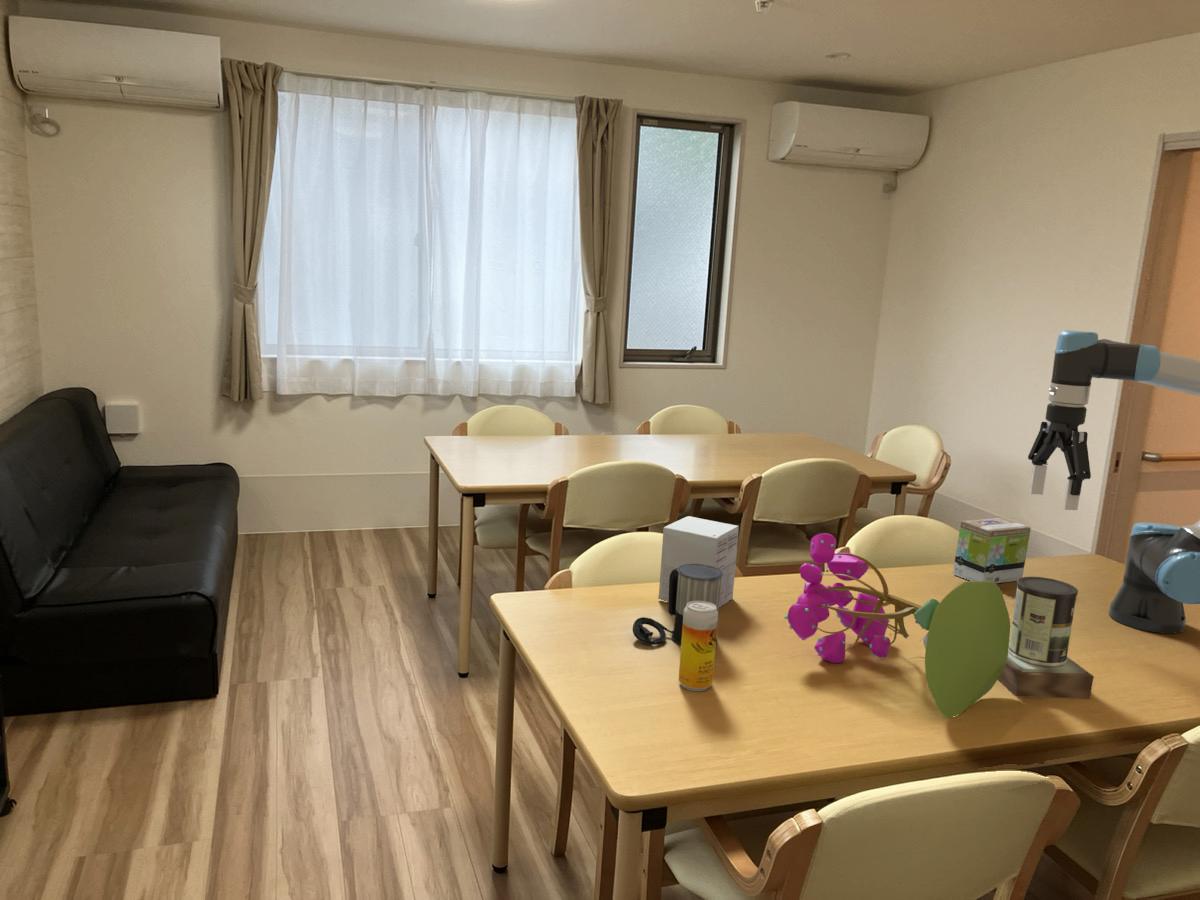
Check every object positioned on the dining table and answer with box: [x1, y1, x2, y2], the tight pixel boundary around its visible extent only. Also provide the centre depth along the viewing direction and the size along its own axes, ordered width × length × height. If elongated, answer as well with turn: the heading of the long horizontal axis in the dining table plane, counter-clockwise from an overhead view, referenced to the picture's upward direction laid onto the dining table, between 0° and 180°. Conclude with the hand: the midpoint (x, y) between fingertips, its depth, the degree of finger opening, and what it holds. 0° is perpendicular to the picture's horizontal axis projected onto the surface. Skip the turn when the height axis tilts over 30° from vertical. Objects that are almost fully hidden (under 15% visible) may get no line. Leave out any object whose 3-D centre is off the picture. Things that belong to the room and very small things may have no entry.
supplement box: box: [657, 515, 740, 608], centre depth 205 cm, size 13×13×18 cm
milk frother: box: [632, 563, 723, 646], centre depth 181 cm, size 14×16×15 cm
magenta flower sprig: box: [783, 533, 1011, 719], centre depth 173 cm, size 30×28×35 cm
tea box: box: [952, 517, 1032, 584], centre depth 233 cm, size 15×10×15 cm
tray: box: [997, 651, 1095, 700], centre depth 172 cm, size 14×14×5 cm
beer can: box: [678, 601, 719, 692], centre depth 161 cm, size 6×6×15 cm
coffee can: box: [1008, 576, 1079, 667], centre depth 171 cm, size 10×10×14 cm
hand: (1052, 501), depth 196 cm, fingers open, 13 cm apart
